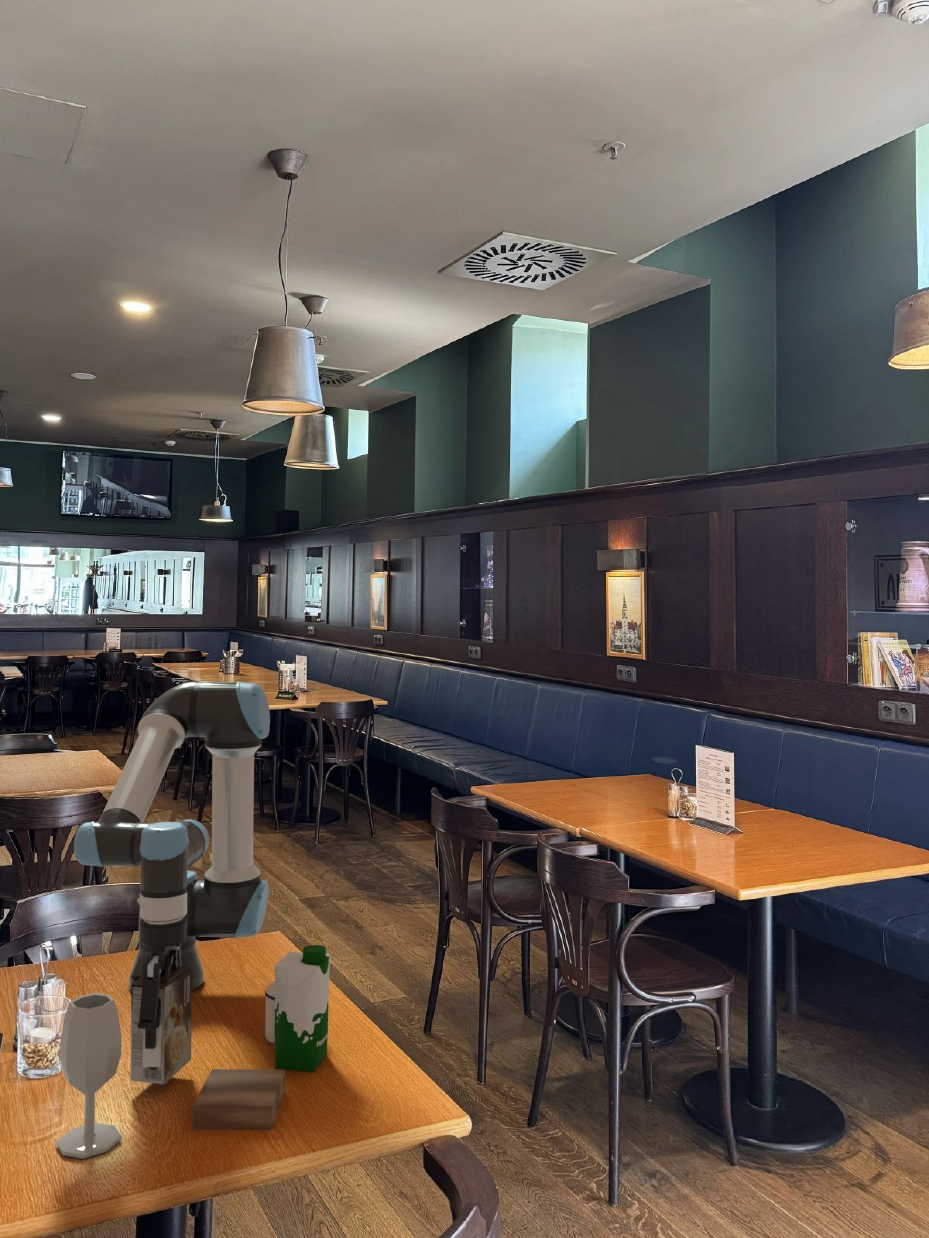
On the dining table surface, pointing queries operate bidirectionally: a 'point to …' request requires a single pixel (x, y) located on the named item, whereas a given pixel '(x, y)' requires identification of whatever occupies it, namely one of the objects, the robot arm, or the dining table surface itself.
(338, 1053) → the dining table surface
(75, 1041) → the wineglass
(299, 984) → the milk carton
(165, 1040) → the coffee box
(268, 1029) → the teacup with lid
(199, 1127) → the brown flat block
